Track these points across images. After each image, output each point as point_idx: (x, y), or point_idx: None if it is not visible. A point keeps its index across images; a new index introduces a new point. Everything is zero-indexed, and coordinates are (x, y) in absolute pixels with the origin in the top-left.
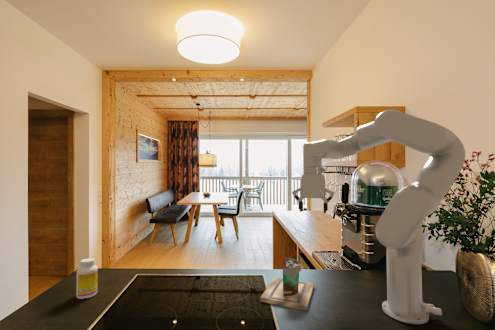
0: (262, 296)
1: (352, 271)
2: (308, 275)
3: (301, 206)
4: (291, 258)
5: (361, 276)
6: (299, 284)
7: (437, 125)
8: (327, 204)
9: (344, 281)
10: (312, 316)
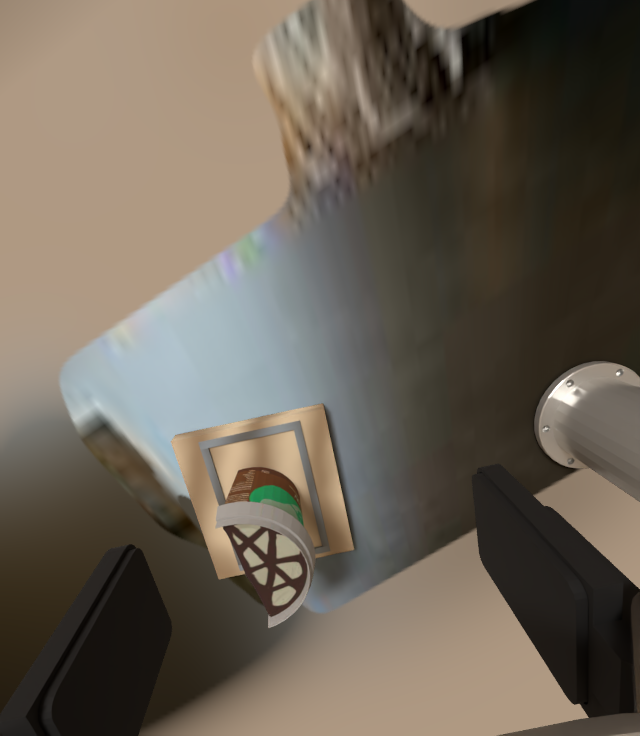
0: (221, 573)
1: (426, 140)
2: (263, 310)
3: (140, 717)
4: (246, 523)
5: (469, 186)
6: (281, 444)
7: None
8: (627, 595)
9: (410, 287)
10: (371, 553)
